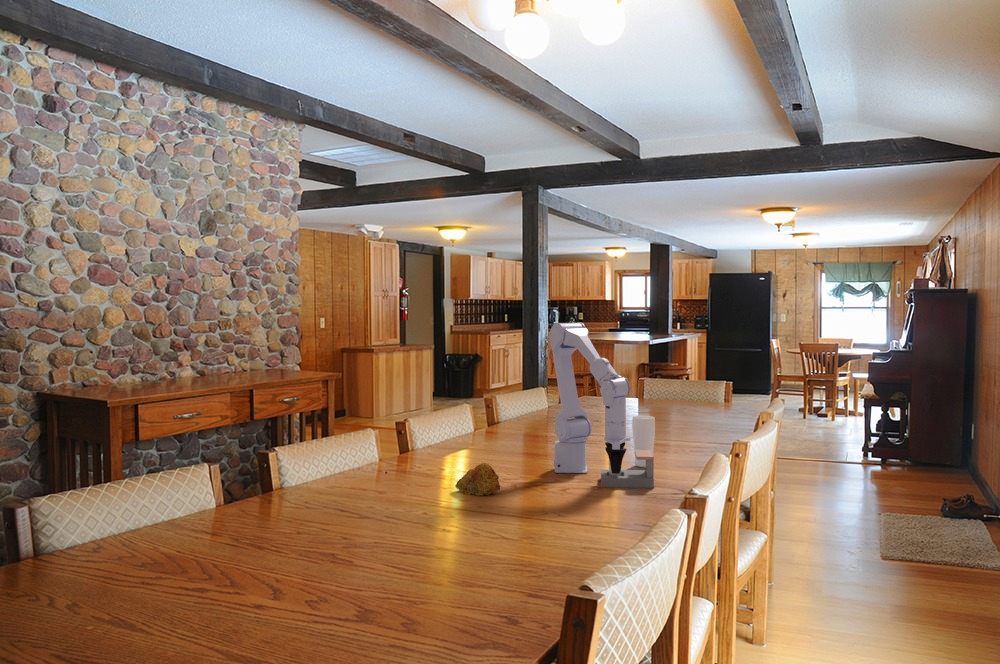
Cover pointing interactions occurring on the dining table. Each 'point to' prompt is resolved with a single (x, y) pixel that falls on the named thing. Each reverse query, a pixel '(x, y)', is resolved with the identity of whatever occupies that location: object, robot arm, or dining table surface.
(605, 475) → the socket station
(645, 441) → the cream rounded cylinder
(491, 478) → the rock
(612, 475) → the peg
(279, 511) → the dining table surface
